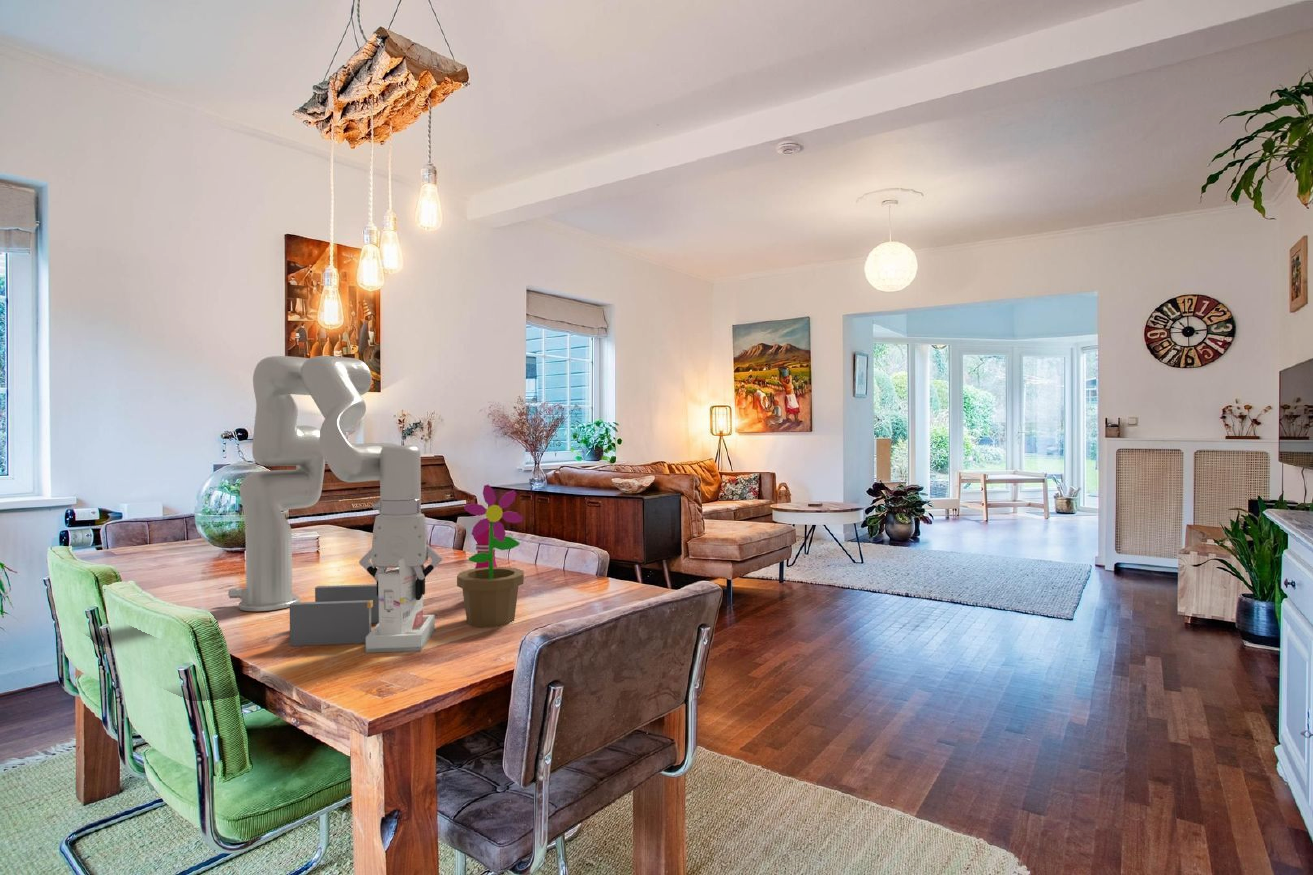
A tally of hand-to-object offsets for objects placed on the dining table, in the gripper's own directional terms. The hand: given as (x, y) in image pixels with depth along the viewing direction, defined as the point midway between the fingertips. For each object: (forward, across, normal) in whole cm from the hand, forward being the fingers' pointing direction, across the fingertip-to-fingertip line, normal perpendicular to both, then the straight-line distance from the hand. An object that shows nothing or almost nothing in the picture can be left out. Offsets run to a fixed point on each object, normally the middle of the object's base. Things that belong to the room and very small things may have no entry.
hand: (401, 598), depth 139 cm
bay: (+8, -13, +7) cm, 17 cm away
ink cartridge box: (+6, 0, 0) cm, 6 cm away
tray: (+8, 0, 0) cm, 8 cm away
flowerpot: (+9, +16, +12) cm, 22 cm away
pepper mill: (+9, +13, +31) cm, 35 cm away
